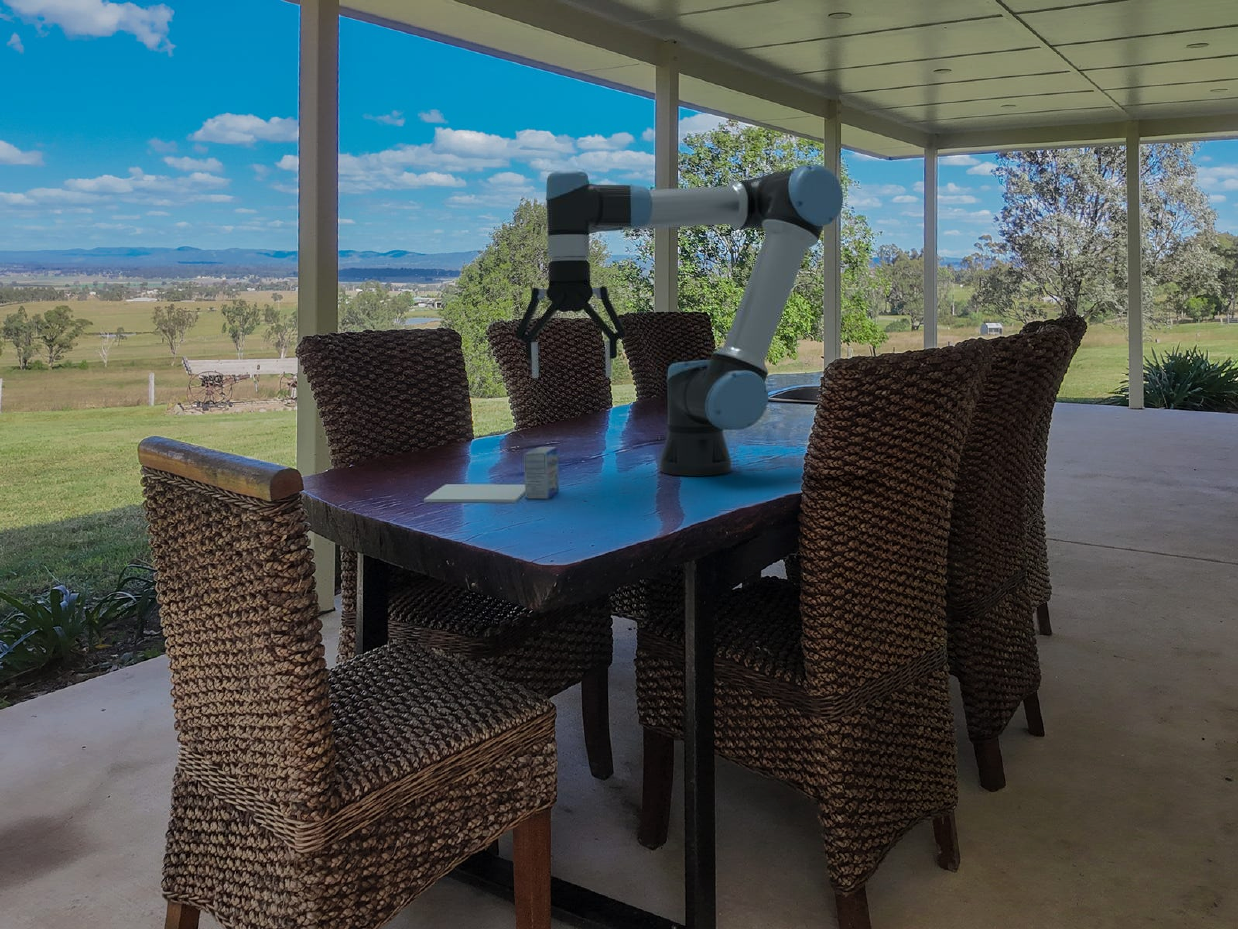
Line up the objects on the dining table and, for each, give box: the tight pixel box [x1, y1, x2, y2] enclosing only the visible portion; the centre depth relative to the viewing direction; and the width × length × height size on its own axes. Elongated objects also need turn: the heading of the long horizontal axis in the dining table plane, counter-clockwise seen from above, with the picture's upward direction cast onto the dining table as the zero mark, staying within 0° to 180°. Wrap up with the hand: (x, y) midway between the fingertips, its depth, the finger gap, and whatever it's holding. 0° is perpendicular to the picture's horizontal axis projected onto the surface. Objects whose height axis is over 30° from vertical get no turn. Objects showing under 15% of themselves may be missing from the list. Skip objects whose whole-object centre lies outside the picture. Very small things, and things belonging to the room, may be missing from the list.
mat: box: [423, 483, 526, 504], centre depth 192 cm, size 17×15×1 cm
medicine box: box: [523, 446, 560, 500], centre depth 190 cm, size 8×4×9 cm, turn 168°
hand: (572, 377), depth 187 cm, fingers open, 13 cm apart
